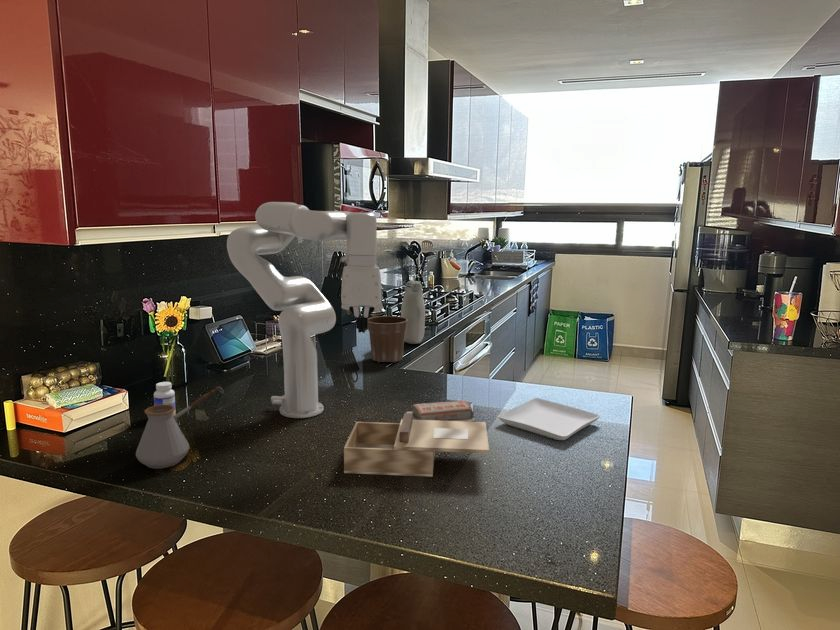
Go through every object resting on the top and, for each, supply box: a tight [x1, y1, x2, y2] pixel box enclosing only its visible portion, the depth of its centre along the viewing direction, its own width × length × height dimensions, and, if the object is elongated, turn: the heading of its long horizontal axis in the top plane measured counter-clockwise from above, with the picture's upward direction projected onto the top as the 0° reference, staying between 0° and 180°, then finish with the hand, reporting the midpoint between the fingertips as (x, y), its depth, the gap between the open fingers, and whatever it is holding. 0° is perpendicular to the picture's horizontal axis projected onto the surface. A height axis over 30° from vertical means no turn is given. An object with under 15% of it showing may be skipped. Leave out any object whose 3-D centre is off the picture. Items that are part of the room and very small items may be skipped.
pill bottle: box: [153, 381, 177, 416], centre depth 161 cm, size 5×5×10 cm
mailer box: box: [343, 421, 436, 477], centre depth 136 cm, size 20×16×6 cm
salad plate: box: [497, 397, 601, 441], centre depth 159 cm, size 21×21×3 cm
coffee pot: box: [135, 385, 225, 469], centre depth 136 cm, size 21×12×15 cm, turn 137°
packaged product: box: [405, 400, 477, 422], centre depth 162 cm, size 18×5×10 cm
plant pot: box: [367, 315, 408, 363], centre depth 224 cm, size 16×16×16 cm
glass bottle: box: [400, 280, 426, 345], centre depth 249 cm, size 10×10×28 cm
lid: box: [394, 412, 490, 454], centre depth 134 cm, size 21×17×3 cm
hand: (362, 331), depth 149 cm, fingers closed
